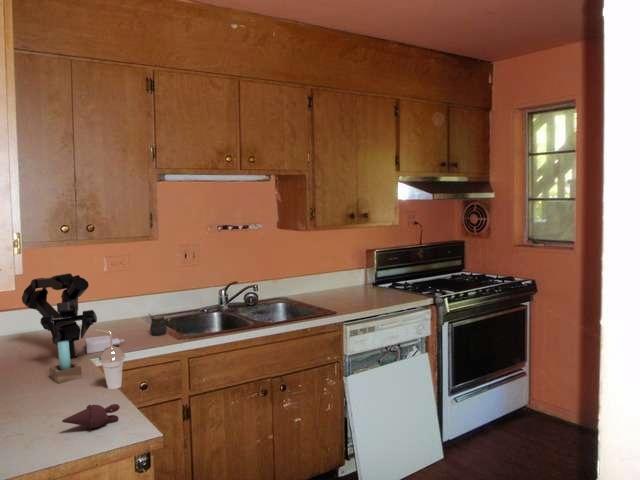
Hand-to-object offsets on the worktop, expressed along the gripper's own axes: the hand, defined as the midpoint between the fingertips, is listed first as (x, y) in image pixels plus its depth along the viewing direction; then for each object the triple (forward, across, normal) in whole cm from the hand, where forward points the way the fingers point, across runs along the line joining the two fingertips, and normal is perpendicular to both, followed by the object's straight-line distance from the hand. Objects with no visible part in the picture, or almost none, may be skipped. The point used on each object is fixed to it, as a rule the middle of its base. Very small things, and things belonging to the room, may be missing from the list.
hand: (68, 340), depth 204 cm
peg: (+14, -1, +1) cm, 14 cm away
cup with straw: (+24, +17, -8) cm, 31 cm away
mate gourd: (-16, +28, +38) cm, 49 cm away
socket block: (+14, -1, +1) cm, 14 cm away
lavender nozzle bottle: (-7, +8, +26) cm, 28 cm away
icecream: (+45, +16, -32) cm, 58 cm away
